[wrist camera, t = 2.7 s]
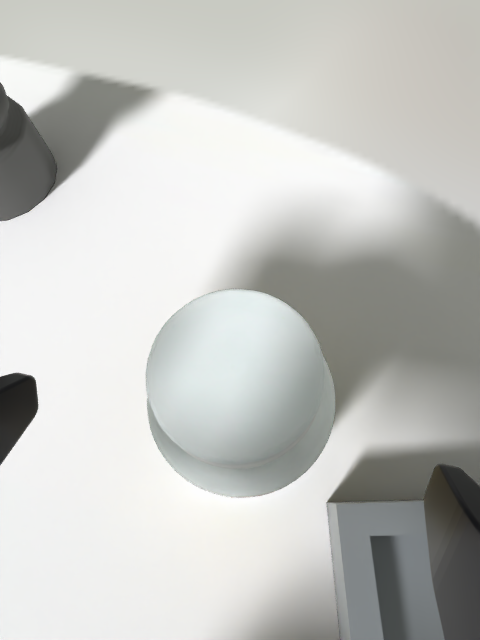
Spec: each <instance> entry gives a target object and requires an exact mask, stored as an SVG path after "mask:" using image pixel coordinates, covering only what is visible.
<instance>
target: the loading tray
mask: <svg viewBox="0 0 480 640" xmlns="http://www.w3.org/2000/svg"><path fill="white" fill-rule="evenodd" d="M327 512H328V522H329V532H330V542H331V552H332V562H333V572H334V582H335V592H336V602H337V612H338V622H339V632H340V640H444V635H443V630H442V626H441V621H440V617H439V612H438V607H437V603H436V598H435V594H434V588H433V583H432V577H431V569H430V560H429V550H428V541H427V532H426V522H425V513H424V500H399V501H362V502H327Z"/></svg>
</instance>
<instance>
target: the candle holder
mask: <svg viewBox="0 0 480 640" xmlns="http://www.w3.org/2000/svg"><path fill="white" fill-rule="evenodd" d="M56 170H57V165H56V163H55V160H54V158H53V155H52V153H51V151H50V150H49V148H48V147H47V145H46V144H45V142H44V140H43V139H42V137H41V136H40V134H39V133H38V131H37V129H36V128H35V126H34V125H33V123H32V122H31V120H30V118H29V117H28V115H27V114H26V112H25V111H24V109H23V107H22V106H20V105H19V104H18V103H16V102H15V101H14V100H12V99H11V98H10V97H8V96H7V95H6V92H5V90H4V87H3V85H2V84H1V83H0V221H5V220H9V219H12V218H14V217H17V216H19V215H21V214H24V213H26V212H28V211H30V210H31V209H32V208H33V207H35V206H36V205H37V204H38V203H39V202H41V201H42V200H43V199H44V198H45V197H46V195H47V194H48V192H49V191H50V189H51V187H52V186H53V184H54V183H55V177H56Z"/></svg>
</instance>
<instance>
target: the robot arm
mask: <svg viewBox="0 0 480 640" xmlns="http://www.w3.org/2000/svg"><path fill="white" fill-rule="evenodd" d="M37 410H38V397H37V387H36V380H35V378H34V377H33V376H31V375H26V374H22V373H12V374H9V375H5V376H1V377H0V465H1V464H2V462H3V461H4V459H5V458H6V457H7V455H8V454H9V452H10V451H11V450H12V448H13V447H14V445H15V444H16V442H17V441H18V440H19V438H20V437H21V435H22V434H23V433H24V431H25V430H26V428H27V427H28V425H29V424H30V423H31V421H32V420H33V418H34V417H35V415H36V413H37ZM424 513H425V522H426V532H427V541H428V550H429V560H430V569H431V577H432V583H433V588H434V594H435V598H436V603H437V607H438V612H439V617H440V621H441V626H442V630H443V635H444V640H480V486H479V485H478V484H477V483H476V482H475V481H473V480H472V479H471V478H470V477H469V476H468V475H467V474H466V473H465V472H464V471H463V470H462V469H460V468H458V467H455V466H450V465H445V464H438V465H437V466H436V467H435V468H434V471H433V473H432V476H431V478H430V481H429V484H428V486H427V489H426V492H425V495H424Z"/></svg>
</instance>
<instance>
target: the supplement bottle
mask: <svg viewBox="0 0 480 640" xmlns="http://www.w3.org/2000/svg"><path fill="white" fill-rule="evenodd" d="M146 389H147V395H148V399H147V409H148V418H149V424H150V428H151V432H152V435H153V437H154V440H155V442H156V444H157V446H158V448H159V450H160V452H161V453H162V455H163V457H164V458H165V459H166V461H167V462H168V463H169V464H170V465H171V467H172V468H173V469H174V470H175V471H176V472H177V473H179V474H180V475H181V476H182V477H183V478H185V479H186V480H187V481H189V482H190V483H192V484H193V485H195V486H197V487H199V488H201V489H203V490H206V491H208V492H211V493H214V494H218V495H222V496H227V497H236V498H244V497H255V496H261V495H265V494H269V493H272V492H274V491H277V490H279V489H281V488H283V487H285V486H287V485H289V484H290V483H292V482H294V481H295V480H297V479H298V478H299V477H300V476H301V475H303V474H304V473H305V472H306V471H307V470H308V469H309V468H310V467H311V466H312V465H313V464H314V462H315V461H316V460H317V458H318V457H319V455H320V454H321V452H322V451H323V449H324V447H325V445H326V443H327V441H328V439H329V436H330V433H331V430H332V426H333V422H334V416H335V389H334V383H333V379H332V375H331V372H330V369H329V367H328V364H327V362H326V360H325V358H324V356H323V354H322V350H321V347H320V345H319V342H318V339H317V337H316V336H315V334H314V332H313V330H312V329H311V327H310V326H309V324H308V323H307V322H306V320H305V319H304V318H303V317H302V316H301V315H300V314H299V313H298V312H297V311H296V310H295V309H293V308H292V307H291V306H290V305H288V304H287V303H285V302H283V301H282V300H280V299H278V298H276V297H274V296H271V295H269V294H266V293H263V292H259V291H254V290H246V289H227V290H220V291H216V292H212V293H209V294H206V295H203V296H201V297H199V298H197V299H195V300H193V301H191V302H190V303H188V304H186V305H185V306H184V307H182V308H181V309H179V310H178V311H177V312H176V313H175V314H174V315H173V316H172V317H171V318H170V319H169V320H168V321H167V322H166V323H165V325H164V326H163V327H162V329H161V330H160V332H159V333H158V335H157V337H156V339H155V341H154V343H153V345H152V348H151V351H150V354H149V357H148V362H147V368H146Z"/></svg>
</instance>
